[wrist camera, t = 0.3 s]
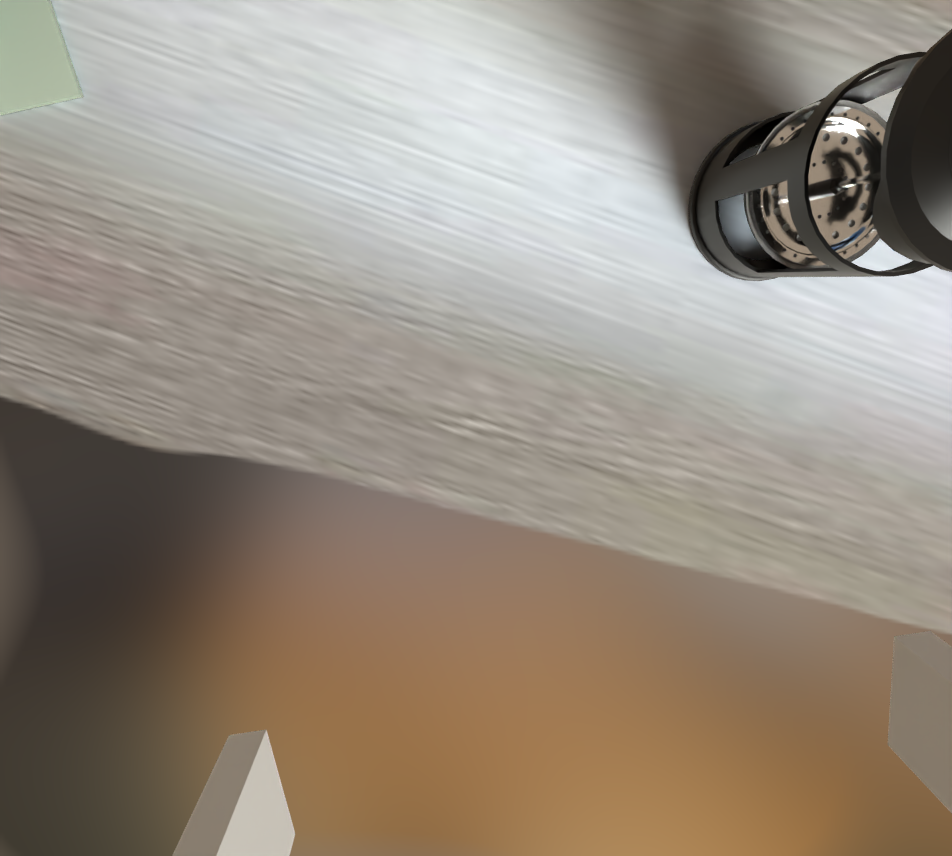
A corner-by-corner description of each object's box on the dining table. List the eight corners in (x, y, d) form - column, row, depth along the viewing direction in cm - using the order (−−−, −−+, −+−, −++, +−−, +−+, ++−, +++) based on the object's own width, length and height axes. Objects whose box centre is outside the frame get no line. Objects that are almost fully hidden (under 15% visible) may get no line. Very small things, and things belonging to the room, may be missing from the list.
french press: (663, 268, 37) (979, 252, 15) (696, 108, 35) (1124, -187, 13) (836, 293, 38) (1372, 314, 16) (879, 139, 36) (1572, -86, 14)
